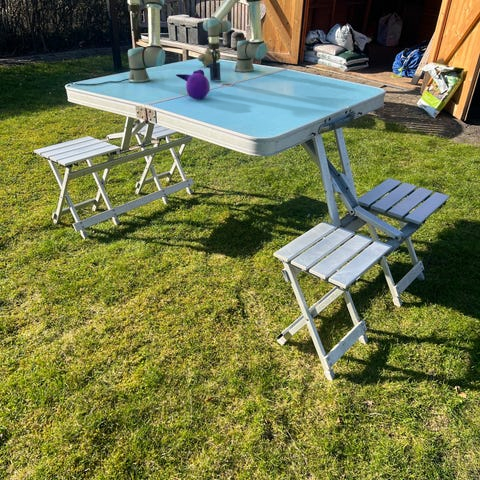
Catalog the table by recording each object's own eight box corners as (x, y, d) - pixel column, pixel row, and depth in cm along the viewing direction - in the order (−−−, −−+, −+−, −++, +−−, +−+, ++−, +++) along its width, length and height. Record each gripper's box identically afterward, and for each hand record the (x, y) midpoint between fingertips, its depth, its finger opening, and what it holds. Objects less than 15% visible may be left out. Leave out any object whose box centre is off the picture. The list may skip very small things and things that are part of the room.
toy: (198, 91, 303) (209, 105, 283) (173, 86, 296) (182, 100, 275) (203, 67, 295) (215, 79, 275) (177, 62, 288) (187, 74, 267)
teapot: (201, 68, 381) (200, 49, 373) (195, 66, 389) (194, 48, 382) (223, 65, 390) (222, 47, 382) (217, 64, 399) (216, 45, 391)
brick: (220, 79, 334) (219, 62, 328) (220, 80, 330) (219, 63, 324) (210, 79, 334) (209, 62, 328) (210, 80, 330) (209, 63, 324)
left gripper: (130, 3, 293) (135, 38, 304) (124, 5, 272) (129, 43, 282) (142, 3, 293) (146, 38, 304) (136, 5, 272) (141, 42, 283)
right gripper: (208, 41, 326) (210, 75, 338) (208, 44, 311) (210, 79, 323) (218, 41, 327) (220, 74, 339) (219, 44, 312) (220, 79, 323)
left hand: (138, 40), depth 293 cm, fingers open, 13 cm apart
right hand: (215, 77), depth 331 cm, fingers closed on brick, 5 cm apart
